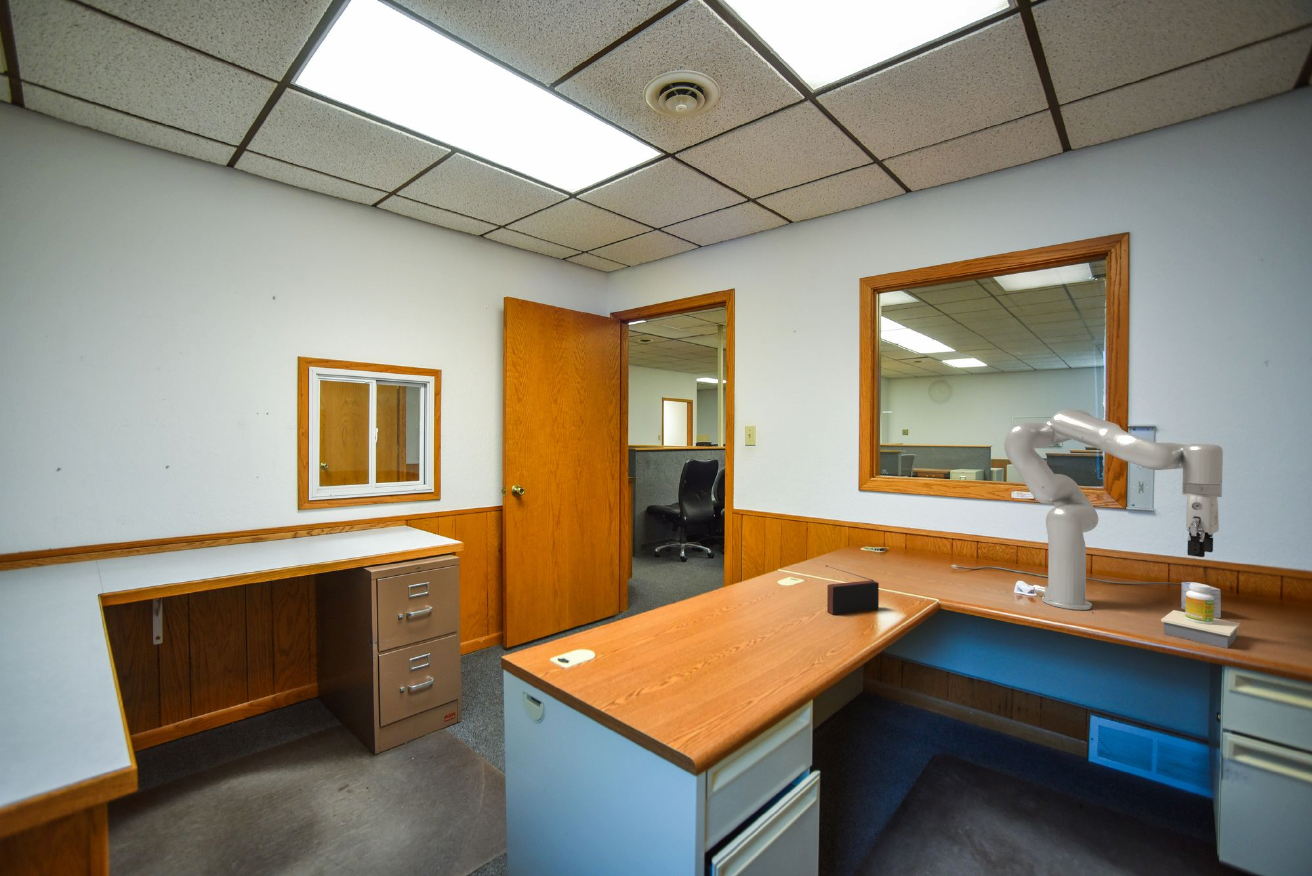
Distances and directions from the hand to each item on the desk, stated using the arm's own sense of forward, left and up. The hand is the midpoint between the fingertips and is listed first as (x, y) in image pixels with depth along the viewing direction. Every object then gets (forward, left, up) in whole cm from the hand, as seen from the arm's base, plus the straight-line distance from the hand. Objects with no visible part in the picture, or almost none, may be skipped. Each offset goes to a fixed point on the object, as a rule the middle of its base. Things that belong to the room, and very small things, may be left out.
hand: (1200, 553), depth 147 cm
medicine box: (-4, +25, -22) cm, 34 cm away
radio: (-67, -59, -23) cm, 92 cm away
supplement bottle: (0, 0, -18) cm, 18 cm away
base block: (0, 0, -22) cm, 22 cm away
